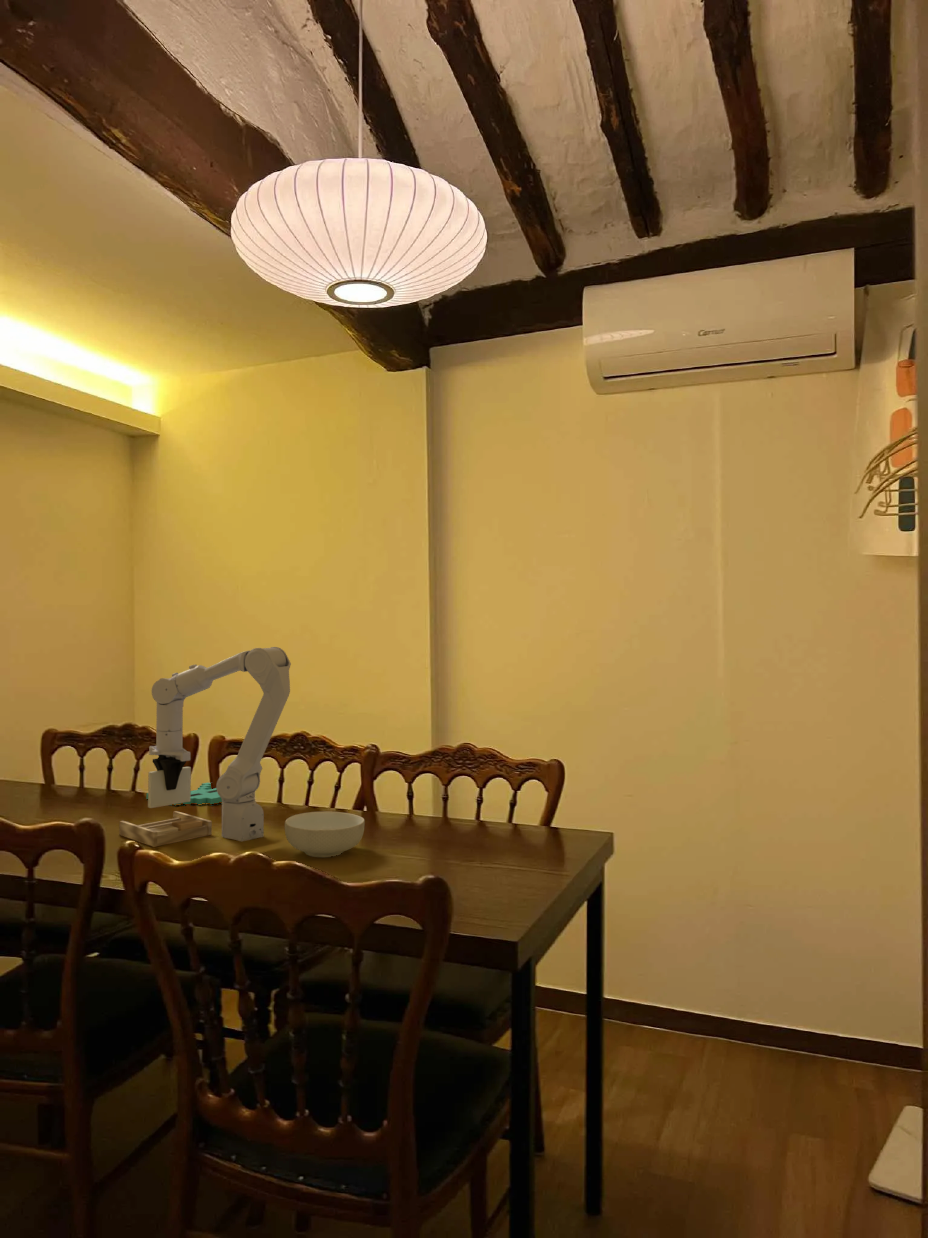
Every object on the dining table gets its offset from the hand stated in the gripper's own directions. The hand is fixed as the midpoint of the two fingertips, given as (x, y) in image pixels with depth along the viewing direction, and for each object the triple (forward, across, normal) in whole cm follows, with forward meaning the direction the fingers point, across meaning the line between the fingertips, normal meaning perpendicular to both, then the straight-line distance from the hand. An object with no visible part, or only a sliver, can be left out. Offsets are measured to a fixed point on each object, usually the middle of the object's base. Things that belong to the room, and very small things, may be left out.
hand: (169, 789), depth 194 cm
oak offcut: (+9, +7, 0) cm, 12 cm away
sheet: (+3, 0, 0) cm, 4 cm away
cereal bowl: (+11, +38, +14) cm, 42 cm away
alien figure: (+11, -30, +26) cm, 41 cm away
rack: (+10, +3, -3) cm, 11 cm away
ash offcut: (+9, +7, -6) cm, 13 cm away
